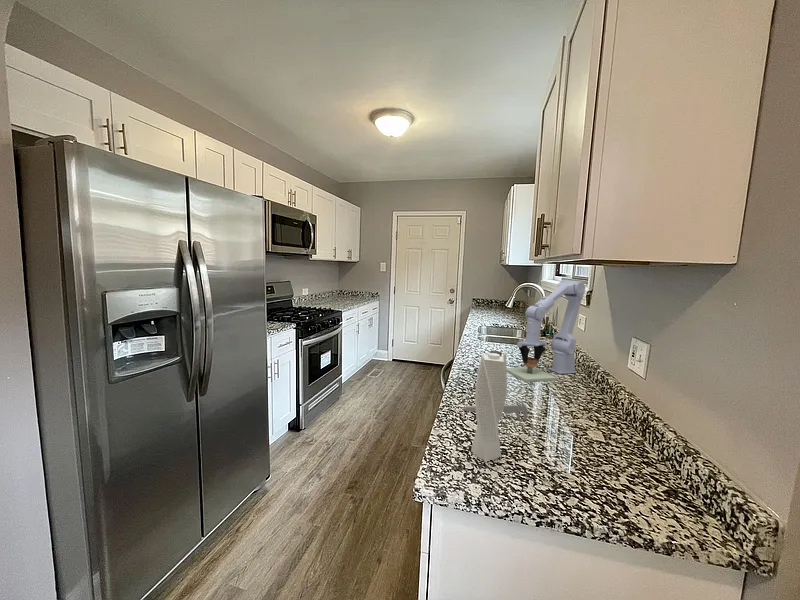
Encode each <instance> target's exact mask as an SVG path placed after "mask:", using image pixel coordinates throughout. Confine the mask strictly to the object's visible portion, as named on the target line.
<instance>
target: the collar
mask: <svg viewBox="0 0 800 600" xmlns="http://www.w3.org/2000/svg"><path fill="white" fill-rule="evenodd" d="M538 363H539V362H538V359H535V358H534V357H530V356H528V360H527V363H525V362H523V366H524V367H534V368H537V367H538Z"/></svg>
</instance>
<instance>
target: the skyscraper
mask: <svg viewBox="0 0 800 600" xmlns="http://www.w3.org/2000/svg"><path fill="white" fill-rule="evenodd" d="M507 354H508V353H507V350H504V351H503V354H502V355H501V356H500V355H499V354H496V353H490V352H489V353H487V354H485V353H484V352H482V354H481V358H480V363H479V366H478V369H477V371H478V372H477V376H476V383H475V392H474V403H475V404H474V405H475V408H476V412H475V418H476V424H477V425H476V429H475V433H474V437H473V438H474V439H473V441H472V445H471V450H470V452H471V453H473V455H475V454H476V455H475V456H477V457H478V458H479V457H480V458H479V459H481V460H482V459H483V460H484V463H485V462H486V463H488V462H487V461H489V462H491V461H490V460H492V461H494V460H493V459H495V460H497V459H502V454H501V443H500V442H501V441H500V434H499V426H498V425H499V423H500V421H501V418H502V414H503V413H504V412H503V409H504V405H506V401H507V396H508V395H507V394H508V372H507V370H506V368H507V356H508V355H507ZM499 457H500V458H499ZM496 458H497V459H496ZM483 460H482V461H483Z"/></svg>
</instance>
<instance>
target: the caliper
mask: <svg viewBox="0 0 800 600" xmlns="http://www.w3.org/2000/svg"><path fill="white" fill-rule="evenodd" d="M461 411H467V412H471V413H472V412H474V413H476V408H475V406H474V405H467V406H465V407H462V408H461ZM520 412H522V415H523V420H524V422H526V421H527V415H528V411H527V406H526V404H524V401H522V402H520V401H518V404H505V405H504V409H503V412H502V413H503V414H504V415H507V414H508V415H510V414H513V413H514V414H515V415H516V418H517V420H518V421H521V415H520Z"/></svg>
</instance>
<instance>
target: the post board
mask: <svg viewBox="0 0 800 600" xmlns="http://www.w3.org/2000/svg"><path fill="white" fill-rule="evenodd" d="M506 370H507V374H510V375H511V374H512V375H511V376H513V377H515V378H517V379H519V380H521V382H525V383H535V382H550V381H554V382H555V381H557V379H558V377H556V376H554V375H552V374H550V373H547V372H545V371H543V370H541V369H538V368H537V367H527V366H522V367H521V366H519V367H506Z"/></svg>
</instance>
